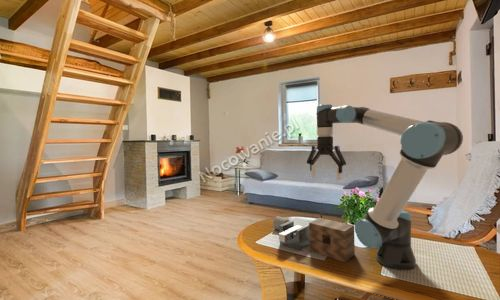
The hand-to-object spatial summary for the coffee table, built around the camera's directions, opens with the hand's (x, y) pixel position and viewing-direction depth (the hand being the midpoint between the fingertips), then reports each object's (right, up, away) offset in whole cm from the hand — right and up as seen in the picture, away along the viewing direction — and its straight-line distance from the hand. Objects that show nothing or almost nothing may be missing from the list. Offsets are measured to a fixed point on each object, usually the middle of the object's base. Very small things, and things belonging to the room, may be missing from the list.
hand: (325, 178), depth 129 cm
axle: (-17, -30, +3) cm, 35 cm away
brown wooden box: (+1, -35, -5) cm, 35 cm away
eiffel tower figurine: (+4, -34, +20) cm, 40 cm away
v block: (-14, -35, +6) cm, 38 cm away
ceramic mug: (-18, -34, +28) cm, 48 cm away
